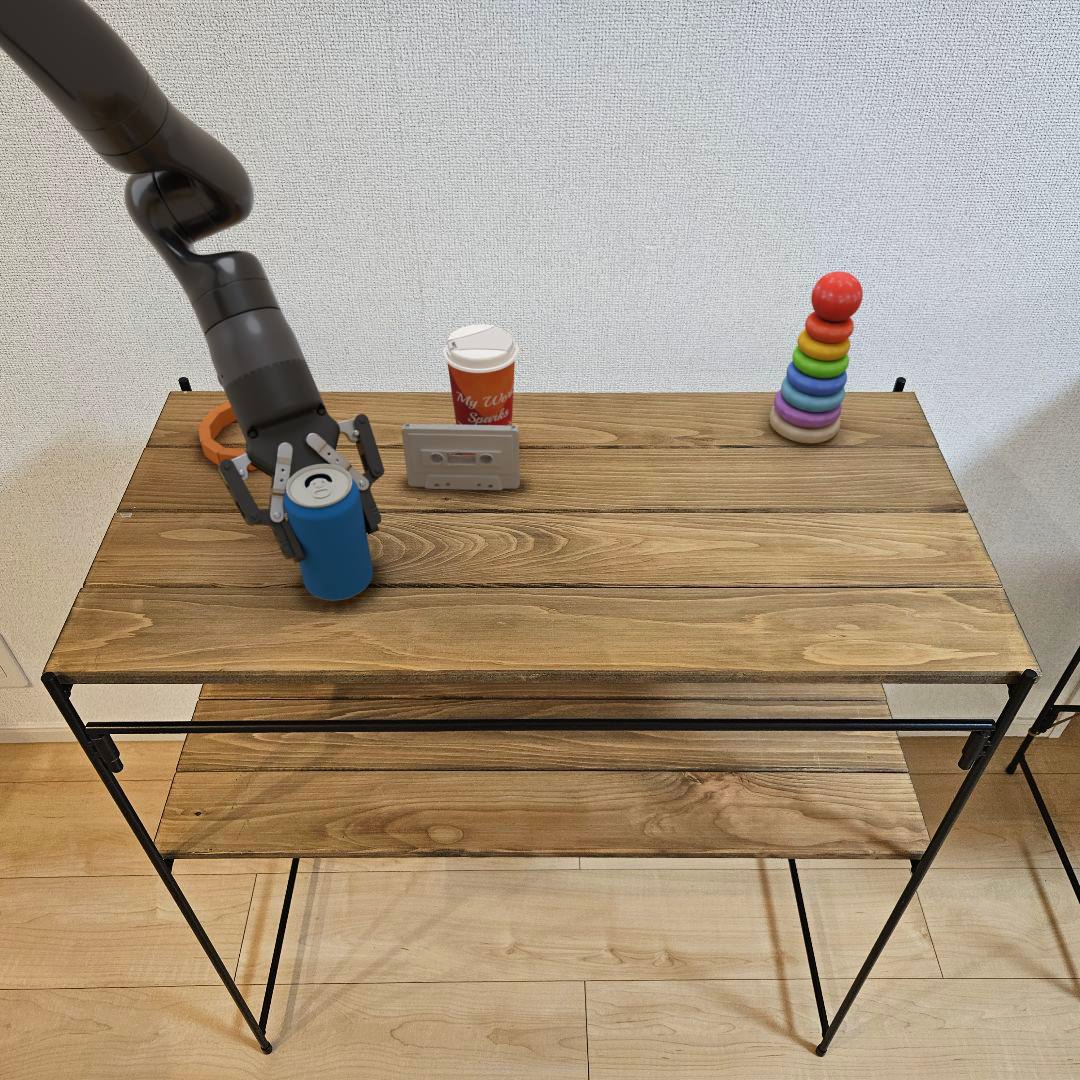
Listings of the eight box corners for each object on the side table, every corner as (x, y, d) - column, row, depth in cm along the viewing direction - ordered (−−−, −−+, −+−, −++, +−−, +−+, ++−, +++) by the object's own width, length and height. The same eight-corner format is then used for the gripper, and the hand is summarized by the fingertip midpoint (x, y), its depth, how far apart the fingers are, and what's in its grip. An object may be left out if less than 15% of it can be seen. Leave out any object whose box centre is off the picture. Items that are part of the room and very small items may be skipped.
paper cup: (458, 477, 96) (450, 366, 86) (445, 436, 101) (435, 327, 92) (528, 465, 98) (527, 354, 88) (511, 425, 103) (509, 317, 93)
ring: (208, 479, 96) (203, 465, 94) (199, 419, 104) (195, 405, 102) (315, 457, 99) (312, 442, 97) (299, 400, 107) (296, 386, 105)
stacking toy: (845, 447, 100) (890, 295, 87) (774, 446, 100) (809, 294, 87) (830, 407, 106) (870, 258, 93) (762, 406, 106) (794, 257, 93)
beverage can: (365, 550, 88) (348, 454, 79) (381, 595, 83) (364, 498, 75) (299, 566, 86) (275, 470, 78) (312, 613, 81) (287, 516, 73)
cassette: (407, 489, 95) (399, 431, 89) (409, 478, 96) (402, 420, 91) (519, 491, 94) (518, 433, 89) (520, 480, 96) (519, 422, 90)
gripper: (183, 386, 72) (264, 575, 73) (347, 337, 78) (420, 512, 79) (182, 408, 79) (256, 580, 80) (332, 361, 85) (400, 523, 86)
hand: (337, 546), depth 79 cm, fingers closed on beverage can, 6 cm apart
